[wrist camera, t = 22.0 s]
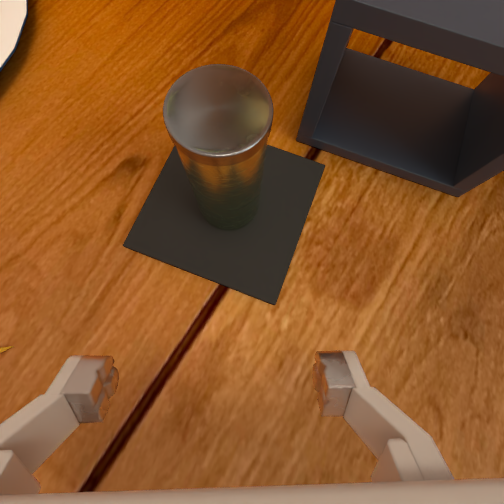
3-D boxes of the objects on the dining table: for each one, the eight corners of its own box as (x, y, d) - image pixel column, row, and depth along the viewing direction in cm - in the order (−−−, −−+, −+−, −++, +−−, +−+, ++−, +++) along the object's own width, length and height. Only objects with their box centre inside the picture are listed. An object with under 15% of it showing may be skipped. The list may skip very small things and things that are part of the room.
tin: (269, 187, 22) (288, 83, 13) (246, 241, 21) (249, 172, 12) (212, 166, 23) (190, 50, 13) (188, 219, 22) (143, 133, 12)
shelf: (478, 102, 26) (646, -57, 15) (457, 197, 23) (640, 90, 13) (330, 53, 26) (389, -130, 16) (295, 140, 24) (337, -6, 13)
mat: (324, 167, 23) (325, 164, 23) (274, 305, 21) (275, 305, 20) (190, 120, 24) (189, 116, 24) (124, 246, 21) (122, 245, 21)
